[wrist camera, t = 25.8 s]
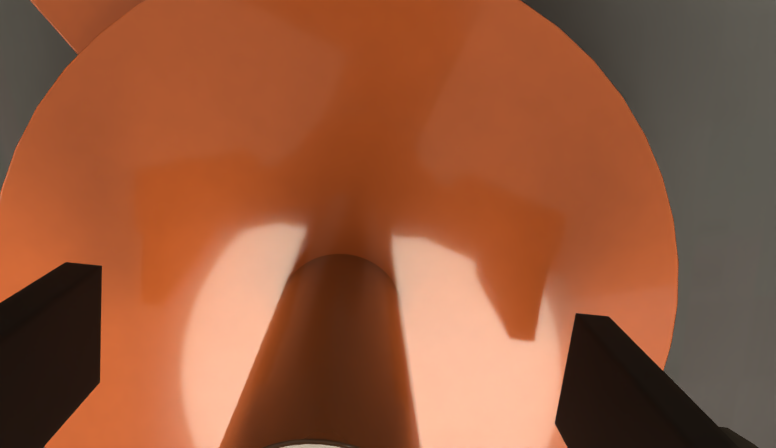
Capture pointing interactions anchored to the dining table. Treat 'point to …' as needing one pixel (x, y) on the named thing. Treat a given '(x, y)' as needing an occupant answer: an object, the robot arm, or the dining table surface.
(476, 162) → the pot lid
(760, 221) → the dining table surface
